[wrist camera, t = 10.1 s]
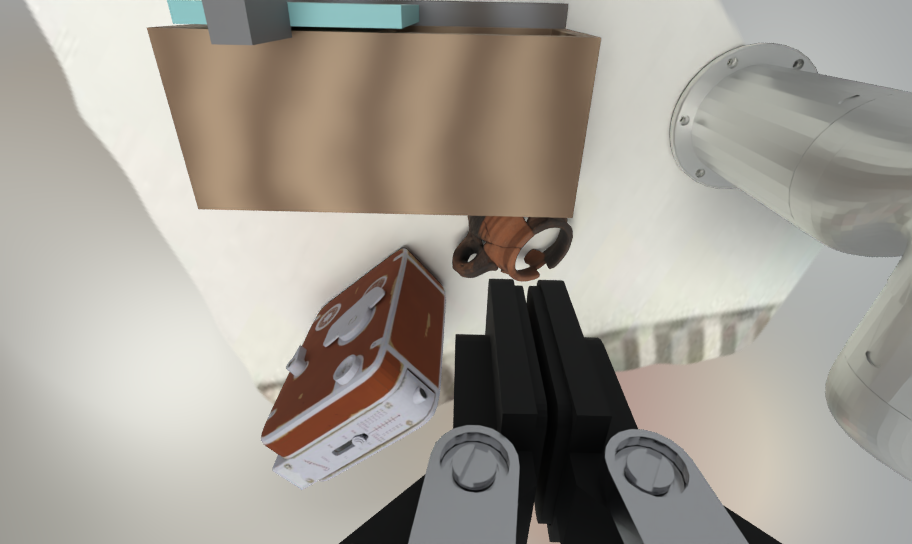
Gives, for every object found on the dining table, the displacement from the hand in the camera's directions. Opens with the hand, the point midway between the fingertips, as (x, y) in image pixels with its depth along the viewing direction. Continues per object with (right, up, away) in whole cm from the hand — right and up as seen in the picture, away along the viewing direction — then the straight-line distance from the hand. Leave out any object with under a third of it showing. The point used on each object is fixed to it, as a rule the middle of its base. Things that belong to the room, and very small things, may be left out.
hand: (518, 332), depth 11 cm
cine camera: (-12, -3, +43) cm, 44 cm away
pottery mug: (+4, +7, +37) cm, 38 cm away
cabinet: (-6, +17, +31) cm, 36 cm away
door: (-11, +23, +27) cm, 37 cm away
